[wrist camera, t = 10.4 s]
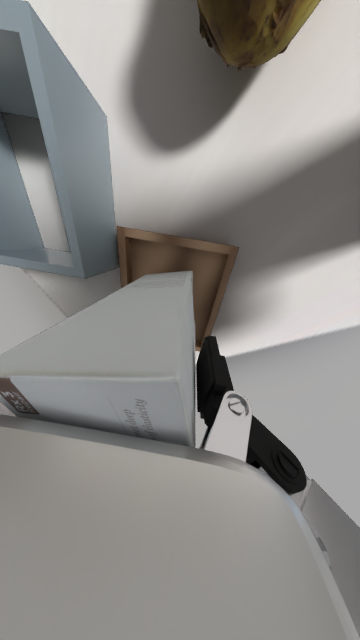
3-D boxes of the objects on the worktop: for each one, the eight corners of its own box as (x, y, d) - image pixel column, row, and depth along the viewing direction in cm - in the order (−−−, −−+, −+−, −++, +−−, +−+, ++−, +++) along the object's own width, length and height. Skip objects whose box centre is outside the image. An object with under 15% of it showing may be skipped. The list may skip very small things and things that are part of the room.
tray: (232, 246, 16) (239, 247, 14) (203, 342, 23) (204, 352, 21) (127, 228, 16) (116, 226, 14) (131, 329, 23) (125, 338, 21)
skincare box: (195, 327, 19) (204, 497, 6) (154, 329, 20) (89, 486, 7) (192, 265, 15) (198, 393, 2) (141, 270, 16) (-71, 390, 3)
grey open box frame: (106, 116, 12) (28, 1, 6) (118, 267, 18) (85, 278, 13) (-14, 95, 12) (-202, -39, 6) (40, 253, 18) (-28, 259, 13)
